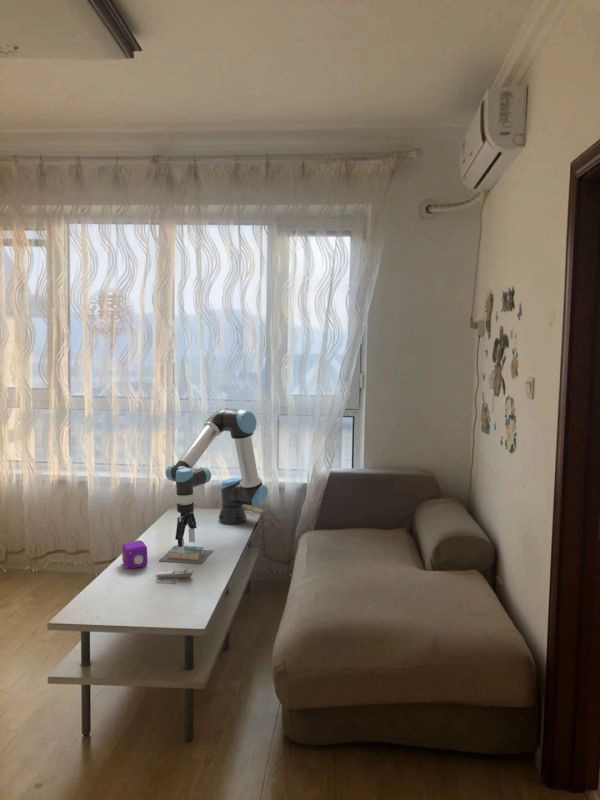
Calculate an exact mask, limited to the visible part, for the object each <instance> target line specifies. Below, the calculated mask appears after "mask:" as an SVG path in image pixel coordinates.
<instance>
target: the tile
mask: <svg viewBox="0 0 600 800" xmlns="http://www.w3.org/2000/svg"><path fill="white" fill-rule="evenodd" d="M203 550H204V546H193V545H184V554H183V553H178V544H177V545H176V544H175V545H173V546H172V547H171V548H170V549H169V550H167V553H168V558H180V559H194V560H198V559H199V558H200V556H201V555H202V554H203V553H204V551H203Z"/></svg>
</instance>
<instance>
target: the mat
mask: <svg viewBox="0 0 600 800" xmlns="http://www.w3.org/2000/svg"><path fill="white" fill-rule="evenodd" d="M203 551H204V553H203V554H202V555H201V556H200V558H199V559H198V560H194V559H180V558H168V552H166V553H165V554H164V555H163V556H162V557H161V558H160V559H159V560H158V562H160V563H175V564H188V565H189V564H190V565H203V563H204V562H205V561H206V560H207V559H208V558H207V557H210V555H211V554H212V553H213V552H214V550H213V549H203Z"/></svg>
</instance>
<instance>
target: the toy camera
mask: <svg viewBox="0 0 600 800" xmlns="http://www.w3.org/2000/svg"><path fill="white" fill-rule="evenodd" d="M121 558H122V559H121V560H122V562H123V564H124V566H125V568H127V569H135V568H141V567H144V566H145V567H146V566H147V565H148V547H147V545H146V544H145V542H144V541H142V540H141V539H137V540H134V541H130V542H129V541H128V542H124V543H122V545H121Z"/></svg>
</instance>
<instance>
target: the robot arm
mask: <svg viewBox="0 0 600 800" xmlns="http://www.w3.org/2000/svg"><path fill="white" fill-rule="evenodd" d="M256 426H257V418H256V416H255V414H254V412H252V411H251V410H246V409H243V408H242V409H236V408H222V409H219V410H218V411H216V412H214V413H213V414H212V415H210V417H209V418H208V419H206V421H205V422H204V423H203V428H202V430H201V431H200V432H199V434H198V435H197V436H196V438H195V439H194V440H193V441H192V443H191V444H190V445H189V447H188V448H187V449H186V451H185V452H183V454H182V456H180V459H179V460H178V461H177V462H176V464H171V465H168V466H167V467H166V470H165V477H166V478H167V480H169V481H170V482H171V481H172V482H175V484H176V485H175V487H176V495H175V497H176V503H177V504H176V511H177V513H180V516H178V517H177V523H176V531H175V538H174V539H175V540H177V545H178V553H183V554H184V546H185V538H184V535H185V531H186V527H187V526H188V542H189V543H192V544H193V543H195V542H196V537H195V536H196V532H195V529H197V522H196V516H195V513H194V509H195V506H194V500H195V499H194V498H195V497H194V488H196V487H199V486H201V485H205V484H207V483H209V482H210V481H211V479H212V473H211V470H210V469H209V468H208V467H206V466H205V467H199V468H195V465H196V464H197V462H198V461H199V460H200V458H201V457H202V456H203V454H204V453H205V451H206V450H208V448H209V446H210V445H212V444H211V443H212V442H213V441H214V440H215V438H216V437H218V436H220V435H221V433H223V432H230V437H231V438H232V439H233V440H234V442H235V447H236V454H237V459H238V465H239V471H240V477H232V478H227V479H224V480H223V481H221V487H220V489H221V490H220V491H221V508H220V512H219V515H218V522H219V521H220V522H221V524H223V523H224V524H223V525H239V524H242V523H245V522H246V521H247V513H246V511H245V507H244V505H247V506H252V507H261V506H263V505H264V504H265V503H266V500H267V498H268V495H269V490H268V486H266V485H265V484H263V481H262V479H261V478H260V477H259V476H258V469H257V463H256V457H255V452H254V445H253V440H252V436H253V435H254V432H255V430H256V428H257V427H256ZM220 522H219V523H220Z"/></svg>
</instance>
